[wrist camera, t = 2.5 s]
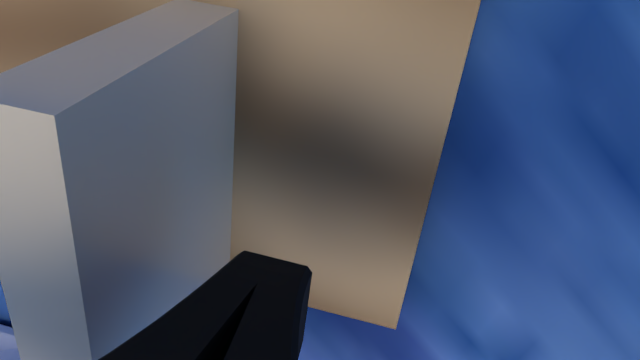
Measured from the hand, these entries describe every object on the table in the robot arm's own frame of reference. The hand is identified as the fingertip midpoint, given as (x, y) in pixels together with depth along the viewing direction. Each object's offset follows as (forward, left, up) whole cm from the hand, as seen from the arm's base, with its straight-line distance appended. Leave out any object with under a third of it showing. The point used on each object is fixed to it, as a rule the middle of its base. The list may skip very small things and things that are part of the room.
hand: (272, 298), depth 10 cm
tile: (0, +3, -5) cm, 6 cm away
